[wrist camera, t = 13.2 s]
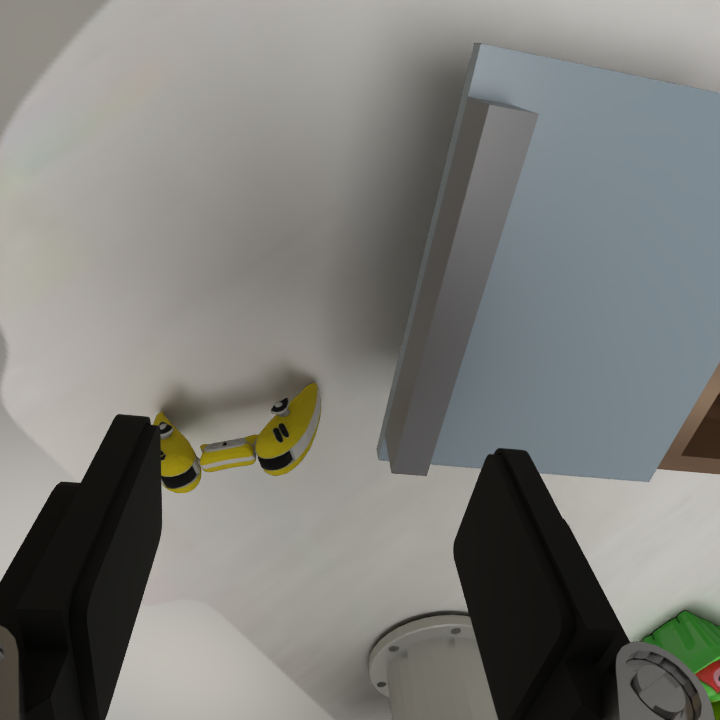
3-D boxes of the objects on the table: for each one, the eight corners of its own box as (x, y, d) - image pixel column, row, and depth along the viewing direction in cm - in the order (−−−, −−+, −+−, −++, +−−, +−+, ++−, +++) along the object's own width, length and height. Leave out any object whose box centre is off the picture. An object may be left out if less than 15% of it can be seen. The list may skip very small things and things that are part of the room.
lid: (640, 471, 28) (677, 520, 25) (376, 448, 26) (384, 499, 23) (842, 118, 19) (931, 133, 17) (474, 43, 17) (505, 44, 15)
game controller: (310, 358, 32) (311, 428, 26) (324, 405, 34) (326, 479, 28) (148, 392, 32) (116, 467, 27) (170, 435, 34) (144, 515, 29)
